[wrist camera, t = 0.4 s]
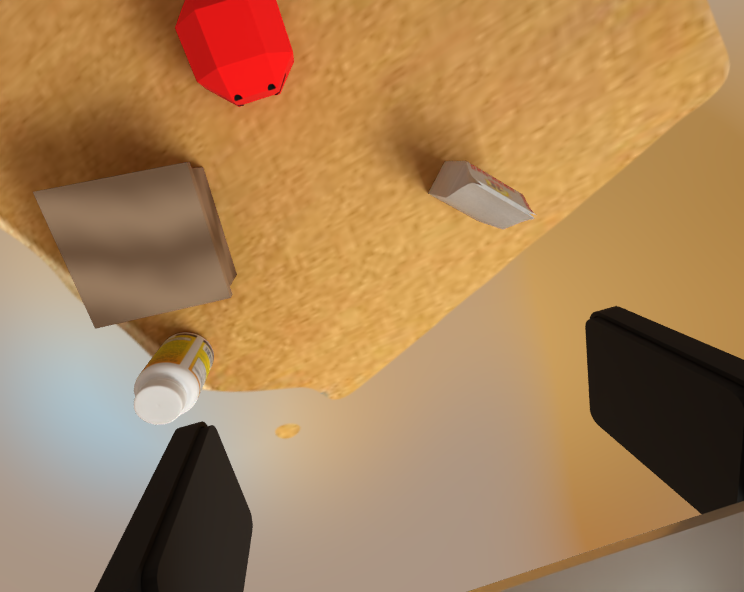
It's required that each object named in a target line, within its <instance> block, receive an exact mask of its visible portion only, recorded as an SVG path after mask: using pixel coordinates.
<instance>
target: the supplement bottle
mask: <svg viewBox="0 0 744 592" xmlns="http://www.w3.org/2000/svg"><path fill="white" fill-rule="evenodd" d="M213 360H214V353H213V349H212V347H211V345H210V344H209V342H208V341H207V340H206V339H204V338H203V337H201V336H199V335H197V334H194V333H187V332H184V333H178V334H175V335H173V336H171V337H169V338H168V339H167V340H166V341H165V342H164V343H163V344H162V346H161V347H160V348H159V349H158V351H157V352H156V353H155V355H154V356H153V357H152V359H151V360H150V361H149V363H148V364H147V365H146V367H145V368H144V369H143V371H142V372H141V373H140V375H139V376H138V378H137V380H136V382H135V386H134V393H135V399H134V409H135V412H136V413H137V415H138V416H139V417H140V418H141V419H142V420H144V421H145V422H148V423H151V424H155V425H162V424H167V423H170V422H172V421H174V420H175V419H176V418H177V417H178V416H179V415H181V414H183V413H185V412H187V411H188V410H189V409H191V408H192V407H193V405H194V404H195V402H196V400H197V399H198V397H199V394H200V392H201V390H202V387H203V385H204V383H205V380H206V378H207V376H208V374H209V371H210V369H211V367H212V364H213Z"/></svg>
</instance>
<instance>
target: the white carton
mask: <svg viewBox="0 0 744 592" xmlns="http://www.w3.org/2000/svg"><path fill="white" fill-rule="evenodd" d="M428 194H430V195H432V196H434V197H436V198H437V199H439V200H441V201H443V202H445V203H446V204H448V205H450V206H452V207H454V208H456V209H457V210H459V211H461V212H463V213H465V214H466V215H468V216H470V217H472V218H474V219H475V220H477V221H479V222H482V223H485V224H488V225H491V226H494V227H497V228H500V229H505V228H508V227H510V226H513V225H515V224H518V223H520V222H523V221H526V220H529V219H535V218H533V217H532V216H531V215H530V214H529V213H531V214H535V213H533V211H532V210H531V209H530V207H529V205H528V204H527V202H526V200H525V198H524V196H523V195H522V194H521V193H519V192H517V191H516V190H514V189H512V188H511V187H509V186H507V185H506V184H504V183H502V182H501V181H499V180H497V179H496V178H494V177H492V176H491V175H489V174H487V173H485V172H484V171H482V170H480V169H479V168H477V167H475V166H474V165H472V164H470V163H469V162H467V161H445V162H444V164H443V166H442V168H441V170H440V172H439V174H438V175H437V177H436V179H435V181H434V183H433V185H432V187H431V189H430V191H429V193H428ZM535 215H536V214H535Z"/></svg>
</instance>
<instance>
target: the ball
mask: <svg viewBox="0 0 744 592" xmlns="http://www.w3.org/2000/svg"><path fill="white" fill-rule="evenodd" d="M175 29H176V32H177V34H178V37H179V39H180V41H181V44H182V46H183V49H184V51H185V54H186V56H187V59H188V61H189V63H190V66H191V68H192V71H193V73H194V76H195V78H196V81H197V82H198V83H199V84H201V85H202V86H203V87H205V88H206V89H207V90H209V91H211V92H213V93H215V94H216V95H218V96H220V97H222V98H224V99H226V100H227V101H229V102H231V103H233V104H235V105H237V106H238V107H241V106H244V104H247V103H250V102H253V101H256V100H259V99H262V98H265V97H269V96H272V95H278V94H280V93H281V91H282V88H283V86H284V84H285V81H286V79H287V77H288V74H289V72H290V70H291V67H292V65H293V63H294V58H293V51H292V47H291V44H290V41H289V38H288V35H287V32H286V29H285V26H284V23H283V20H282V17H281V14H280V11H279V8H278V5H277V2H276V0H185V1H184V4H183V7H182V9H181V12H180V15H179V18H178V21H177V23H176V26H175Z"/></svg>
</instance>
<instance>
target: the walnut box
mask: <svg viewBox="0 0 744 592" xmlns="http://www.w3.org/2000/svg"><path fill="white" fill-rule="evenodd" d="M33 194H34V196H35V198H36V200H37V202H38V204H39V207H40V209H41V211H42V213H43V215H44V218H45V220H46V222H47V224H48V226H49V229H50V231H51V233H52V235H53V237H54V239H55V242H56V244H57V246H58V248H59V250H60V253H61V255H62V257H63V259H64V261H65V263H66V266H67V268H68V270H69V272H70V274H71V277H72V279H73V281H74V283H75V285H76V288H77V290H78V292H79V294H80V296H81V298H82V301H83V303H84V305H85V307H86V309H87V312H88V314H89V316H90V318H91V320H92V322H93V325H94V327H95V328H100V327H104V326H109V325H113V324H117V323H122V322H126V321H131V320H135V319H140V318H144V317H148V316H153V315H157V314H162V313H166V312H171V311H175V310H179V309H184V308H188V307H193V306H197V305H202V304H206V303H210V302H215V301H219V300H224V299H228V298H231V296H232V292H231V289H230V285H231V284H232V282H233V280H234V279H235V277H236V275H237V274H236V271H235V267H234V264H233V261H232V258H231V255H230V251H229V248H228V245H227V242H226V239H225V235H224V232H223V229H222V226H221V223H220V219H219V216H218V213H217V210H216V207H215V203H214V200H213V197H212V194H211V191H210V188H209V184H208V181H207V178H206V175H205V172H204V168H203V167H201V168H191V165H190V162H185V163H180V164H175V165H169V166H164V167H159V168H154V169H149V170H144V171H138V172H133V173H128V174H123V175H118V176H113V177H108V178H102V179H97V180H92V181H87V182H82V183H77V184H72V185H66V186H61V187H56V188H51V189H46V190H41V191H35V192H33Z"/></svg>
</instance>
